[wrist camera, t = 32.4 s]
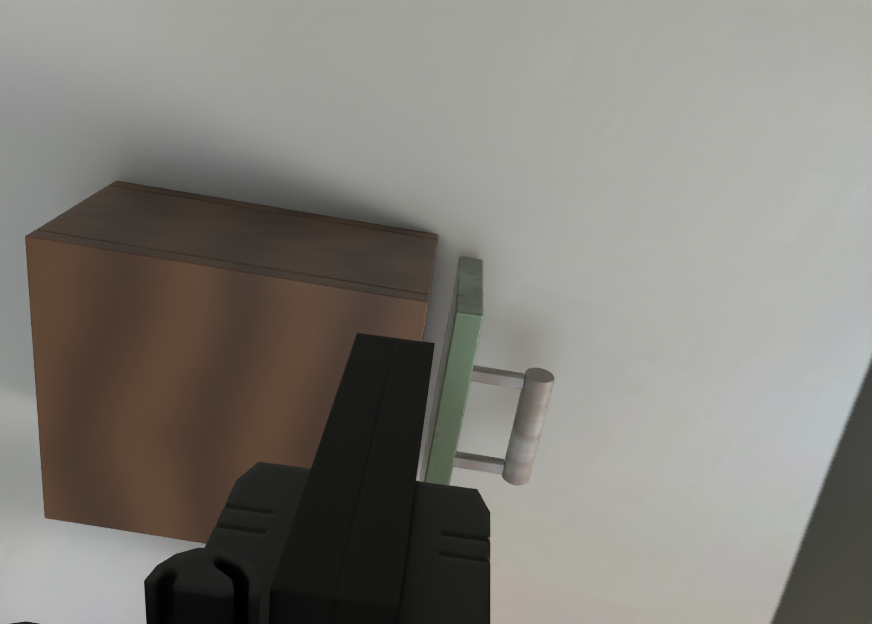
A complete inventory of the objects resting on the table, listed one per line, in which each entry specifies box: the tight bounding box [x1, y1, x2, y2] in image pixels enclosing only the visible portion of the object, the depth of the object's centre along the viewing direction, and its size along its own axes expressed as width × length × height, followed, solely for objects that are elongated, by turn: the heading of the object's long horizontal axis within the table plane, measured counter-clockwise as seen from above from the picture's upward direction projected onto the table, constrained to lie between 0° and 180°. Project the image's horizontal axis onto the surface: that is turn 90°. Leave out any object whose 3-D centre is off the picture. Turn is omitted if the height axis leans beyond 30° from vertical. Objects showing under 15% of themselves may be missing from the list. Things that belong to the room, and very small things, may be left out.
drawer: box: [420, 256, 554, 485], centre depth 39 cm, size 20×13×7 cm
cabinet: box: [25, 181, 438, 544], centre depth 39 cm, size 17×15×9 cm
